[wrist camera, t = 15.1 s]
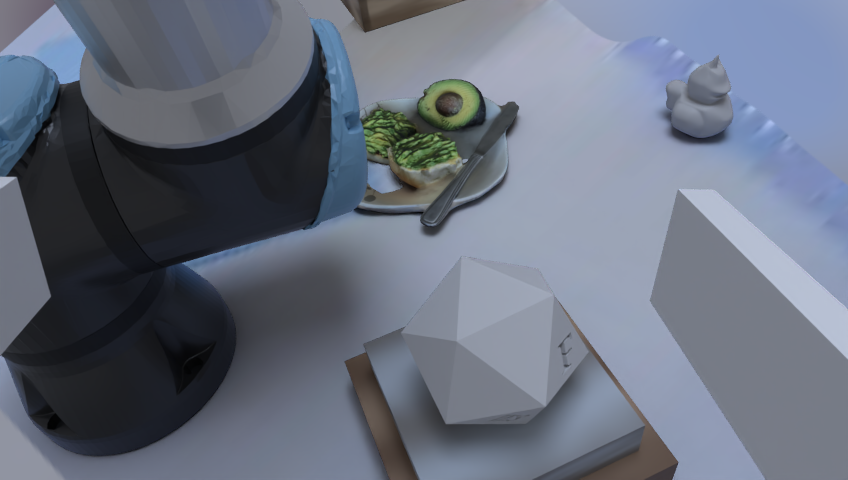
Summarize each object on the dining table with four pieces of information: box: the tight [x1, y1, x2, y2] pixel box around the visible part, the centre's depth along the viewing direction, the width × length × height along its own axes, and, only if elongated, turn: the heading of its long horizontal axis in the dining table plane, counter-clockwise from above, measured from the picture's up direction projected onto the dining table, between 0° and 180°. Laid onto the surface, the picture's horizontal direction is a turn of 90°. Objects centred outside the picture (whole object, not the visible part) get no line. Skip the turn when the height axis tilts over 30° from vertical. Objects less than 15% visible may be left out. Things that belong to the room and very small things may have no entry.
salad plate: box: [357, 79, 519, 227], centre depth 59 cm, size 19×18×5 cm
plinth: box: [345, 301, 678, 480], centre depth 38 cm, size 15×15×6 cm
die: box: [401, 256, 589, 424], centre depth 33 cm, size 8×9×10 cm
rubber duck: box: [666, 55, 733, 138], centre depth 56 cm, size 5×7×8 cm
